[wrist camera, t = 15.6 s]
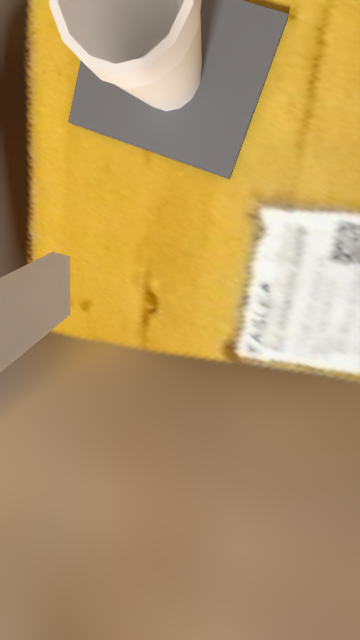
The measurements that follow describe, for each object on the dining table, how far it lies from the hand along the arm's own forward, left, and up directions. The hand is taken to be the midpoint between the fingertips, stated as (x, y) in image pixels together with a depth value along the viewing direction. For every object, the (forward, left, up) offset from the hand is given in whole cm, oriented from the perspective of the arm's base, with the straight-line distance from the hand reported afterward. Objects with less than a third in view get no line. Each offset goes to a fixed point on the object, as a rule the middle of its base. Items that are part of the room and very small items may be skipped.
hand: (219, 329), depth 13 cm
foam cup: (+13, -14, -24) cm, 31 cm away
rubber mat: (+13, -14, -25) cm, 32 cm away
